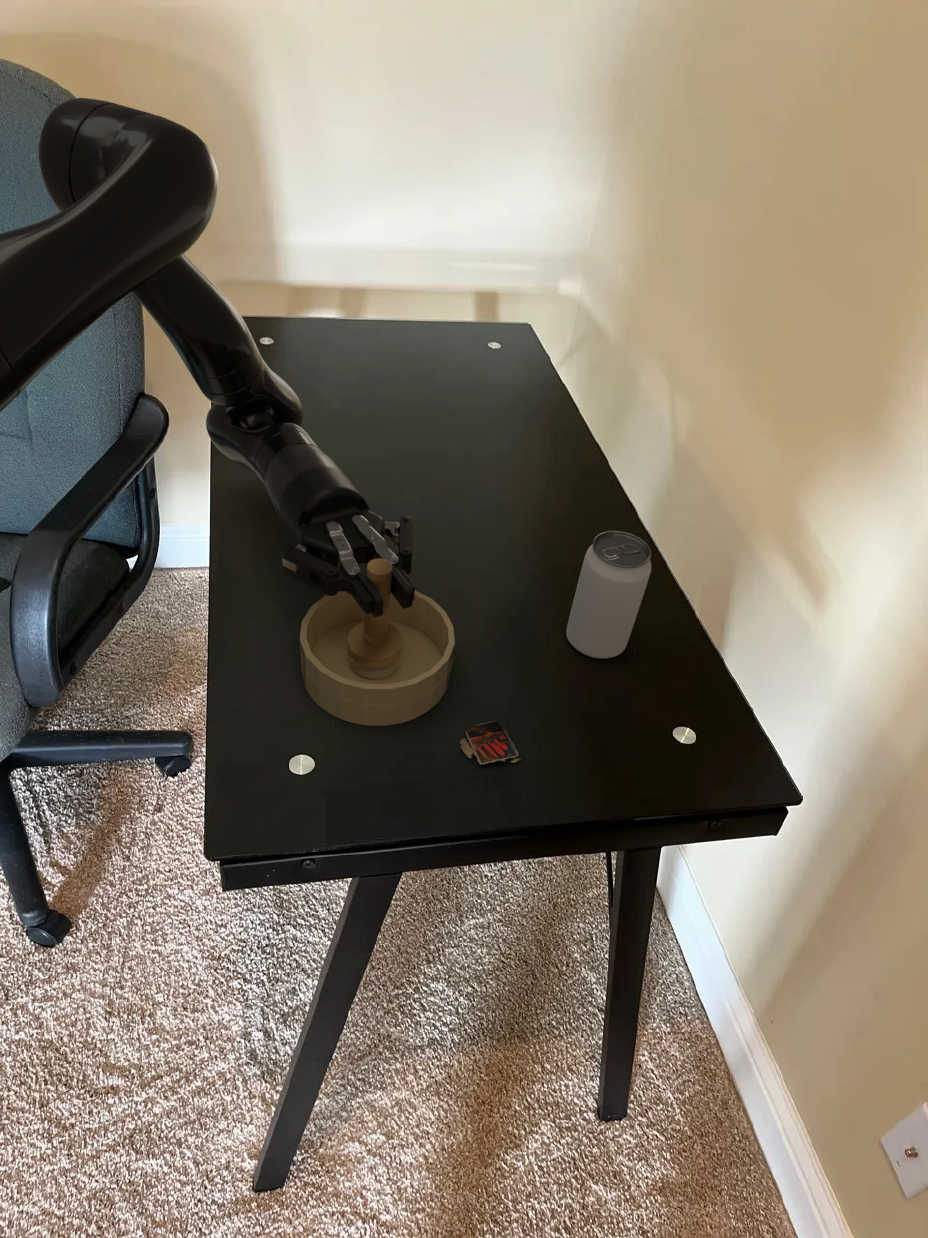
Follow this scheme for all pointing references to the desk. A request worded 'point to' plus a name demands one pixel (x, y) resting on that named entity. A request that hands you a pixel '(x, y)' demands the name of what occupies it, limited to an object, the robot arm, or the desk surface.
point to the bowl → (387, 697)
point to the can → (609, 594)
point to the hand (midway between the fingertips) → (394, 604)
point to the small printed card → (489, 743)
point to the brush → (376, 631)
